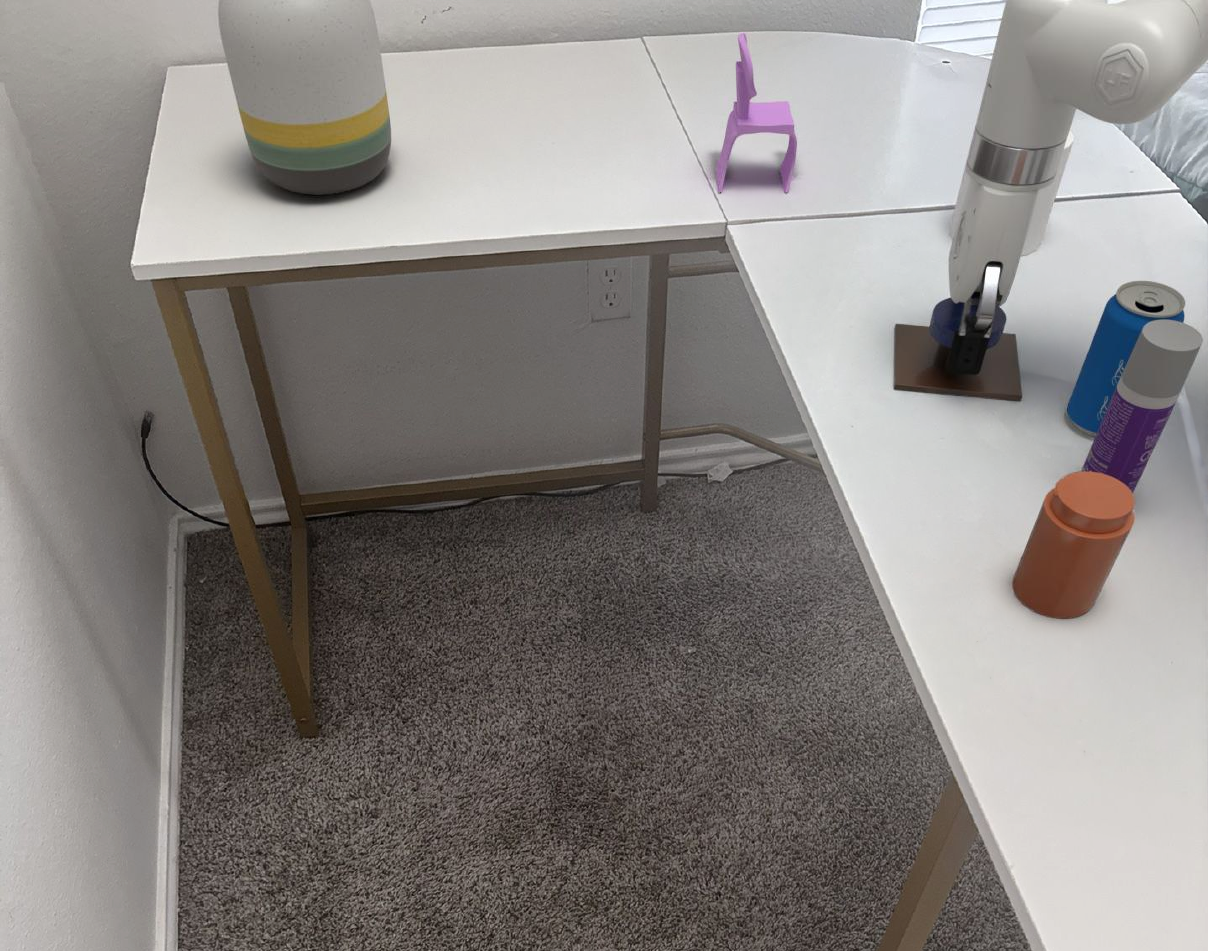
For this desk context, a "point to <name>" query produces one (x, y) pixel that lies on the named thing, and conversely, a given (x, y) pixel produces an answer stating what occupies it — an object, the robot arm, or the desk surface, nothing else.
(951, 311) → the jar lid
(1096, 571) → the jar
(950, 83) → the desk surface
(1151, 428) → the container
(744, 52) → the toy chair
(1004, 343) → the coaster
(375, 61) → the vase
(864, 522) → the desk surface
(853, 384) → the desk surface
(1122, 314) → the beverage can
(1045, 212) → the mug
